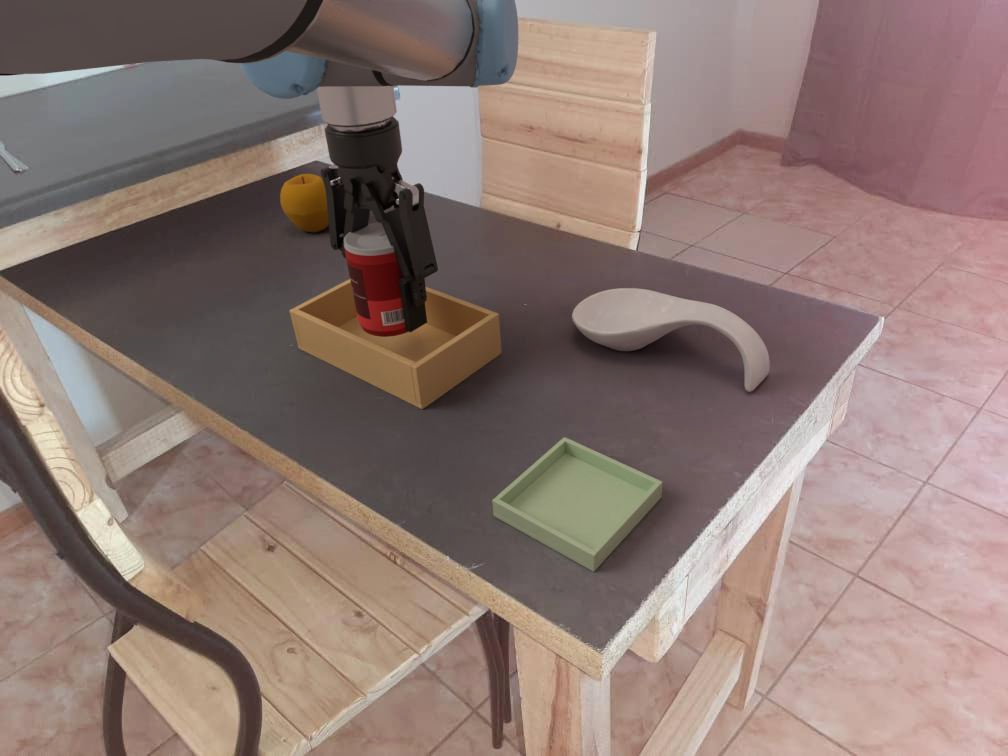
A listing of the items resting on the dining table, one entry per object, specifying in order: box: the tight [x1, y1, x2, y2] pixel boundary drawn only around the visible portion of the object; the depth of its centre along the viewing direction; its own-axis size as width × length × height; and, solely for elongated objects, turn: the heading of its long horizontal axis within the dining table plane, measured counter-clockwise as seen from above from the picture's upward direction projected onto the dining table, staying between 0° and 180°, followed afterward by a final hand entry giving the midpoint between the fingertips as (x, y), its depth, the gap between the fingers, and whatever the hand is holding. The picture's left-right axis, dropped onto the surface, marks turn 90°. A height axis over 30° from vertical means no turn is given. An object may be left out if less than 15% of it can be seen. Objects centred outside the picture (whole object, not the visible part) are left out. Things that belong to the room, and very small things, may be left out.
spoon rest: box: [571, 287, 771, 393], centre depth 89 cm, size 24×12×7 cm, turn 51°
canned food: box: [344, 221, 413, 337], centre depth 89 cm, size 8×8×11 cm
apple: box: [279, 173, 329, 233], centre depth 124 cm, size 8×8×9 cm
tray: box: [491, 436, 663, 573], centre depth 70 cm, size 11×11×2 cm
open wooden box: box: [289, 278, 502, 410], centre depth 93 cm, size 22×14×6 cm, turn 50°
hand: (391, 316), depth 91 cm, fingers closed on canned food, 8 cm apart
